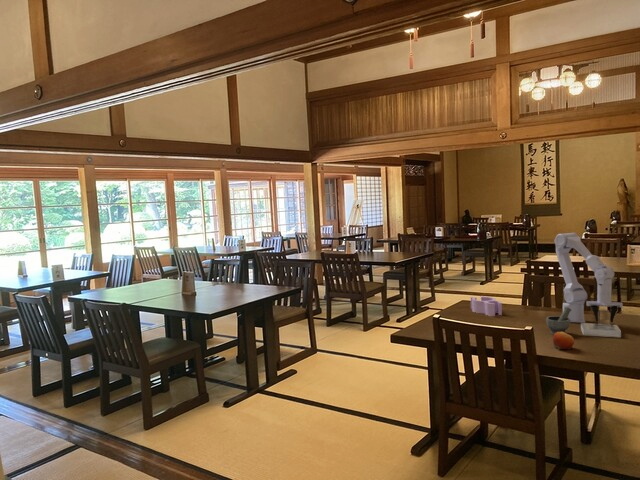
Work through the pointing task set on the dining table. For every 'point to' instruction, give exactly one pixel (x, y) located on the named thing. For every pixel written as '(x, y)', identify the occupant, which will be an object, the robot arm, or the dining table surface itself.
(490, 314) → the clip
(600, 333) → the white rectangular slab
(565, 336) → the fruit
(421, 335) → the dining table surface
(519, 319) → the dining table surface
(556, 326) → the mortar and pestle
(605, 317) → the peg
